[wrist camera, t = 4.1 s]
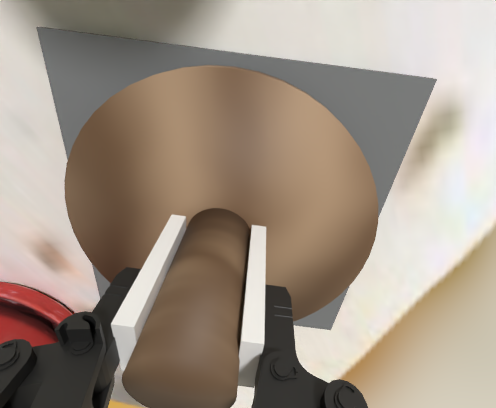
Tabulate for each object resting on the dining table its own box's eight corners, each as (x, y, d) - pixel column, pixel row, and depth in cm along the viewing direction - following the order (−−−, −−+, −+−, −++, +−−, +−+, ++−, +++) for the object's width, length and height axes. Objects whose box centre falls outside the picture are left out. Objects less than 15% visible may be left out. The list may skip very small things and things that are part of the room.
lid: (101, 303, 21) (1, 459, 13) (40, 40, 12) (-368, 42, 4) (327, 332, 21) (361, 505, 13) (427, 91, 12) (707, 184, 4)
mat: (103, 295, 22) (100, 300, 22) (42, 27, 13) (36, 26, 12) (329, 325, 22) (330, 329, 22) (432, 78, 13) (436, 79, 12)
